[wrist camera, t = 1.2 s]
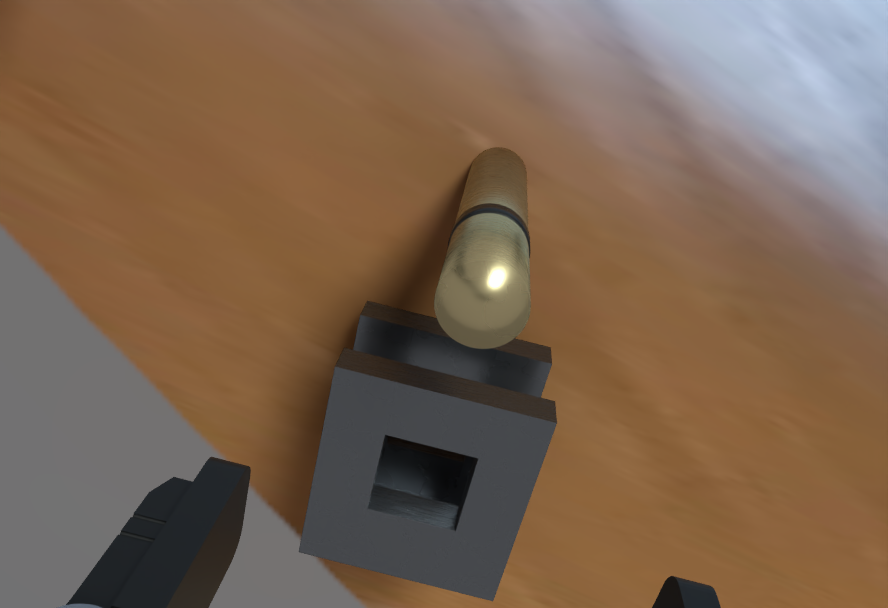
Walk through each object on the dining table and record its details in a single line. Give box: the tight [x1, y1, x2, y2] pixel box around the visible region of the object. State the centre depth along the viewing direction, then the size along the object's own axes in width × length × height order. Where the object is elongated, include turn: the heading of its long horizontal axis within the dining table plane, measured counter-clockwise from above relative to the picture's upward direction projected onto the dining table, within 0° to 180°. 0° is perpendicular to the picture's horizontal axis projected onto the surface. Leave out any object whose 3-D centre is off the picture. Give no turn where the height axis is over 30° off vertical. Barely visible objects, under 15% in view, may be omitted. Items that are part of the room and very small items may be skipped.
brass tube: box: [434, 147, 531, 349], centre depth 32 cm, size 3×3×18 cm
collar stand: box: [299, 301, 557, 601], centre depth 42 cm, size 12×11×10 cm
